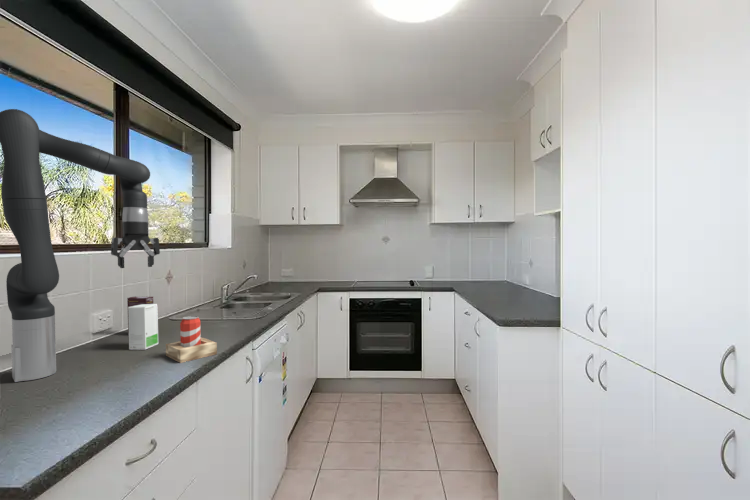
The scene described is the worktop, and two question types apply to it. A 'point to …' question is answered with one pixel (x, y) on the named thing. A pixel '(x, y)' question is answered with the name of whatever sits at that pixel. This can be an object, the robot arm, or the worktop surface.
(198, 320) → the beverage can
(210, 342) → the holder block
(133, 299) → the supplement box
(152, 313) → the skincare box
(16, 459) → the worktop surface
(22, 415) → the worktop surface
